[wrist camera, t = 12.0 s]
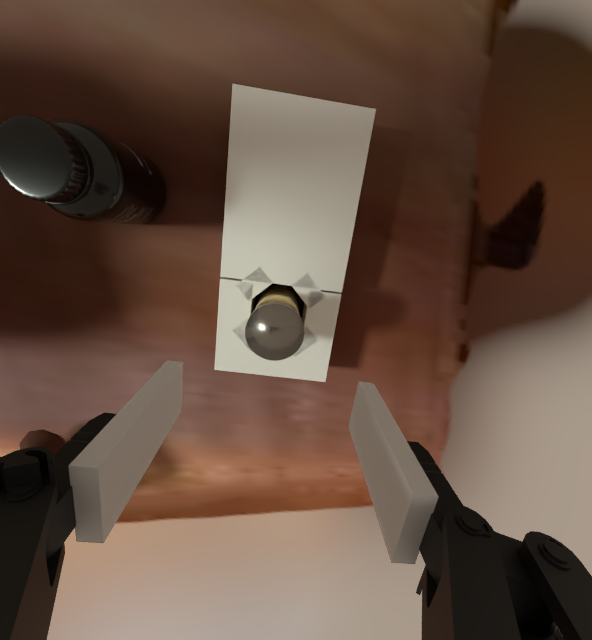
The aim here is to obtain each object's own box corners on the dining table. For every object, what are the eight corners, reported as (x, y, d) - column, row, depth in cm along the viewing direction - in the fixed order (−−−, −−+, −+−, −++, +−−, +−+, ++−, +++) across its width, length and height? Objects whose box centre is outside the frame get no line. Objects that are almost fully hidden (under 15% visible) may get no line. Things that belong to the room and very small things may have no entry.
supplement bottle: (168, 156, 28) (88, 104, 17) (167, 228, 30) (95, 226, 19) (96, 145, 28) (-38, 84, 16) (100, 219, 30) (-17, 211, 18)
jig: (222, 354, 35) (214, 369, 31) (240, 104, 27) (232, 83, 23) (321, 365, 35) (325, 381, 32) (363, 125, 28) (376, 109, 24)
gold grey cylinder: (255, 321, 34) (242, 357, 24) (259, 280, 32) (247, 301, 23) (296, 326, 34) (299, 363, 24) (301, 286, 33) (308, 308, 23)
